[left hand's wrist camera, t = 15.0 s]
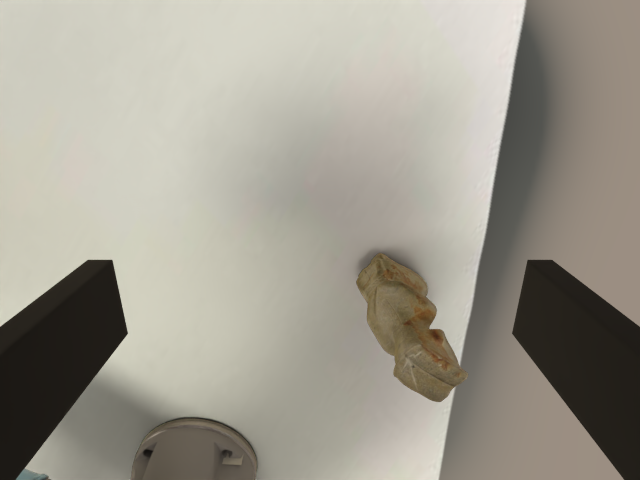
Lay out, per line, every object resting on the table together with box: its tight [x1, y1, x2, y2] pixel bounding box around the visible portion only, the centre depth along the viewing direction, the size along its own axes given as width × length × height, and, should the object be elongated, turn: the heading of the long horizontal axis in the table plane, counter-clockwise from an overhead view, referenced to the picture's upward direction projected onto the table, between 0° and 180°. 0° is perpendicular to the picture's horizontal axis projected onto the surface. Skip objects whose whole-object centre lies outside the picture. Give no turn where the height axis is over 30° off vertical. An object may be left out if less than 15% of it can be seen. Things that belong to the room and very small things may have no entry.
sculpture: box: [356, 253, 468, 402], centre depth 35 cm, size 6×7×15 cm
